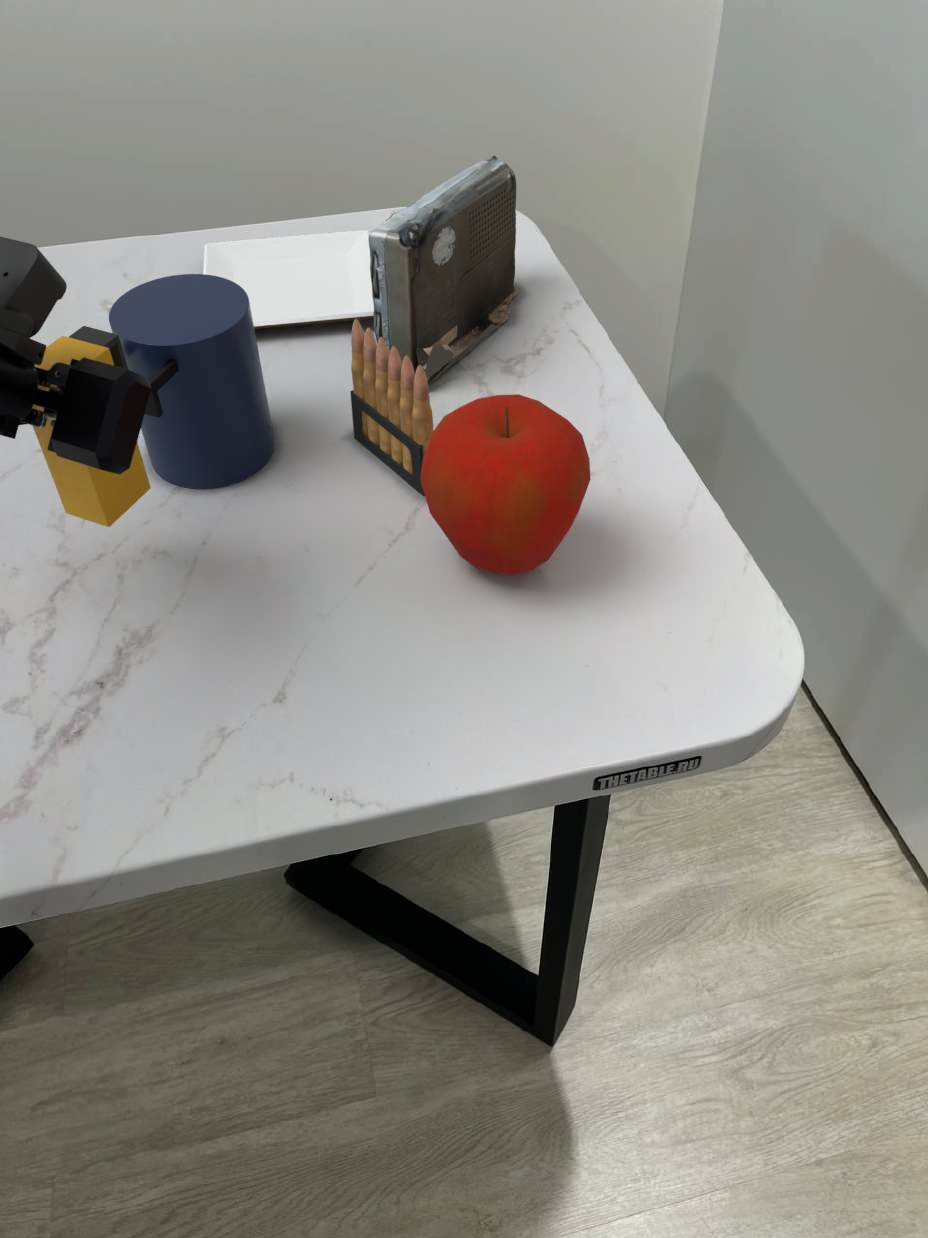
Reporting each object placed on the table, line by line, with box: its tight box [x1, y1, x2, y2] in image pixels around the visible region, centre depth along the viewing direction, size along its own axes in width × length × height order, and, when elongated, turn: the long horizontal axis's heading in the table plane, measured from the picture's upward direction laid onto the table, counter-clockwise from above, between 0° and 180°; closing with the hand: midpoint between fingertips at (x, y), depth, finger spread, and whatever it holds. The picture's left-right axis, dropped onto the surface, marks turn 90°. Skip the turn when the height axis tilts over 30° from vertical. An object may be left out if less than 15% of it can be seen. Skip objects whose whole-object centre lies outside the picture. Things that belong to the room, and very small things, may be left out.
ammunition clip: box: [349, 319, 434, 496], centre depth 85 cm, size 11×2×12 cm, turn 38°
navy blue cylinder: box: [108, 273, 276, 490], centre depth 85 cm, size 14×11×14 cm
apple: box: [420, 393, 592, 575], centre depth 76 cm, size 12×12×14 cm
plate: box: [202, 229, 374, 330], centre depth 109 cm, size 19×19×2 cm
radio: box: [369, 155, 519, 386], centre depth 99 cm, size 23×9×15 cm, turn 144°
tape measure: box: [31, 325, 152, 528], centre depth 72 cm, size 7×4×12 cm, turn 155°
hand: (96, 417), depth 72 cm, fingers closed on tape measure, 4 cm apart
